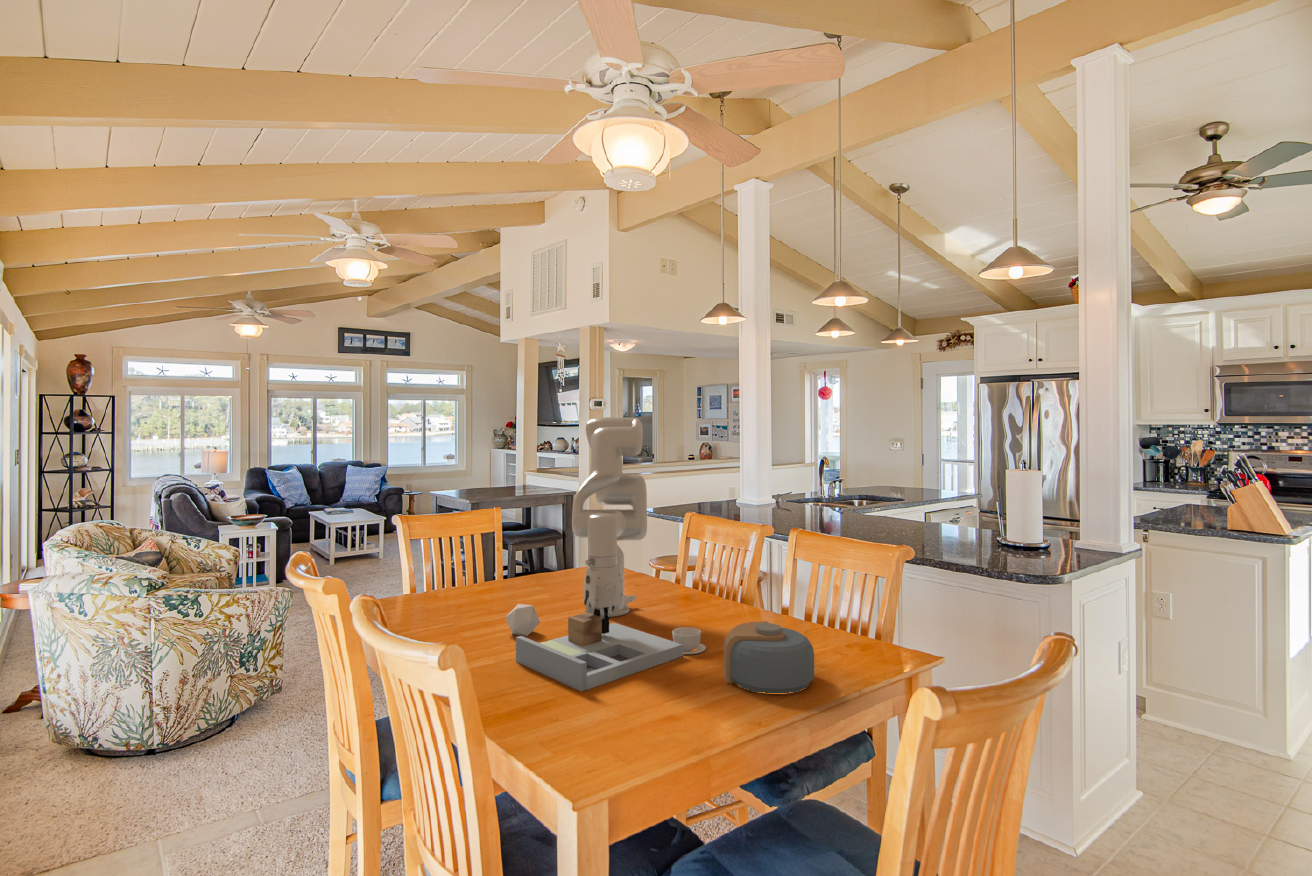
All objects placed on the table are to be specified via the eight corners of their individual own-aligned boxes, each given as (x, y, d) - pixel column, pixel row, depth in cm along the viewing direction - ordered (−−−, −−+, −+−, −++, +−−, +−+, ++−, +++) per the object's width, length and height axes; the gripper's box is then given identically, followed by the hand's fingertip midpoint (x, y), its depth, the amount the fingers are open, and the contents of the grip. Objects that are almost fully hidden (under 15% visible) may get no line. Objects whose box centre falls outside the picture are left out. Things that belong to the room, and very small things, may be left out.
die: (545, 633, 186) (535, 602, 191) (537, 626, 178) (528, 594, 183) (517, 645, 185) (508, 613, 190) (509, 638, 178) (499, 605, 182)
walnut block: (586, 635, 172) (586, 612, 172) (601, 640, 168) (601, 617, 168) (568, 641, 168) (568, 617, 168) (583, 646, 164) (583, 622, 164)
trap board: (614, 633, 184) (614, 611, 184) (682, 656, 165) (682, 632, 165) (515, 661, 162) (515, 637, 162) (581, 691, 143) (581, 663, 143)
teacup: (702, 657, 165) (702, 638, 165) (663, 654, 167) (663, 635, 167) (709, 644, 174) (709, 627, 174) (672, 641, 177) (672, 624, 177)
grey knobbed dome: (752, 658, 163) (752, 609, 163) (828, 677, 151) (828, 624, 151) (707, 681, 149) (707, 628, 148) (788, 705, 136) (788, 646, 136)
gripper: (589, 567, 164) (589, 642, 164) (633, 559, 174) (633, 629, 175) (570, 563, 169) (570, 635, 169) (614, 555, 180) (615, 623, 180)
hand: (602, 632), depth 172 cm, fingers closed
